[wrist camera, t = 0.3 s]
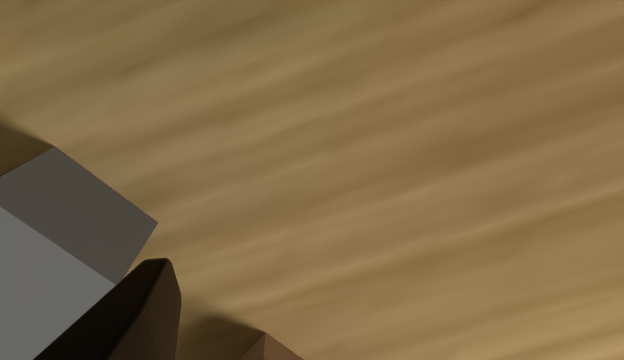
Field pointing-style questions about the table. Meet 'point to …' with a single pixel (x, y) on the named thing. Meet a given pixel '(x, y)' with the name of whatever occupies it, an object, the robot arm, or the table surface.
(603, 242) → the table surface
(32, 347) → the base block
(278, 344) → the walnut cube
